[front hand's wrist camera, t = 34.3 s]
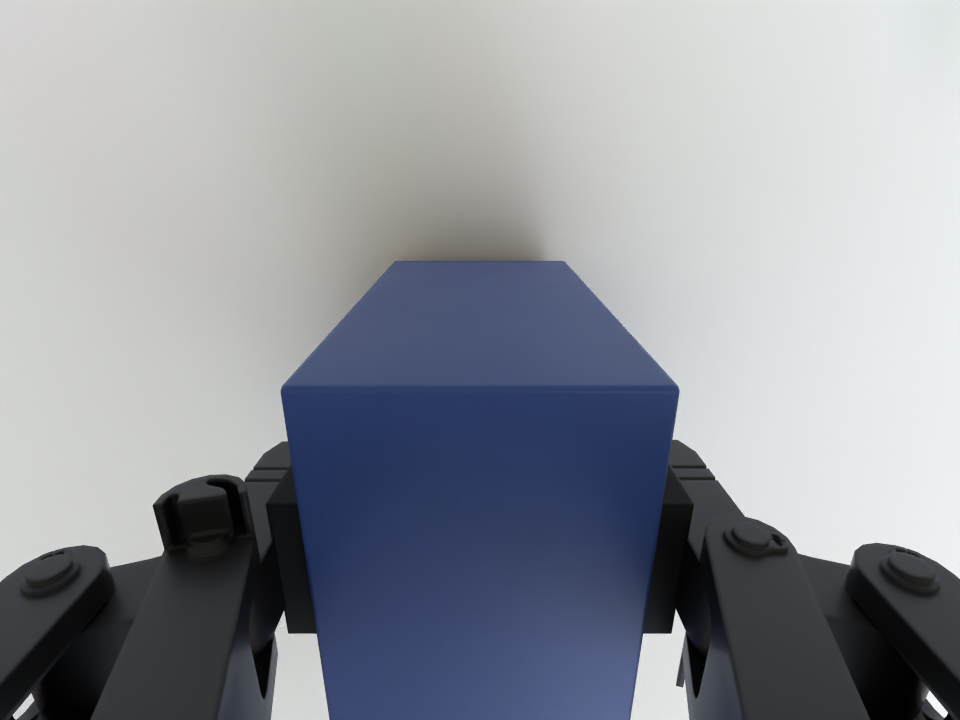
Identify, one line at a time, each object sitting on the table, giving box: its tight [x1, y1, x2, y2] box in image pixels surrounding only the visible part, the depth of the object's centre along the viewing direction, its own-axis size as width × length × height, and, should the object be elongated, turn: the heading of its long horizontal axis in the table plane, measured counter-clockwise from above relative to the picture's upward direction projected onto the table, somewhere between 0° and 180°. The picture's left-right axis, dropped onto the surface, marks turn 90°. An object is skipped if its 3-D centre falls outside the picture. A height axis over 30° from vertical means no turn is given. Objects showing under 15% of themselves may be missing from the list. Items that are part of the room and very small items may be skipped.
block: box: [281, 261, 679, 720], centre depth 12 cm, size 7×5×10 cm
